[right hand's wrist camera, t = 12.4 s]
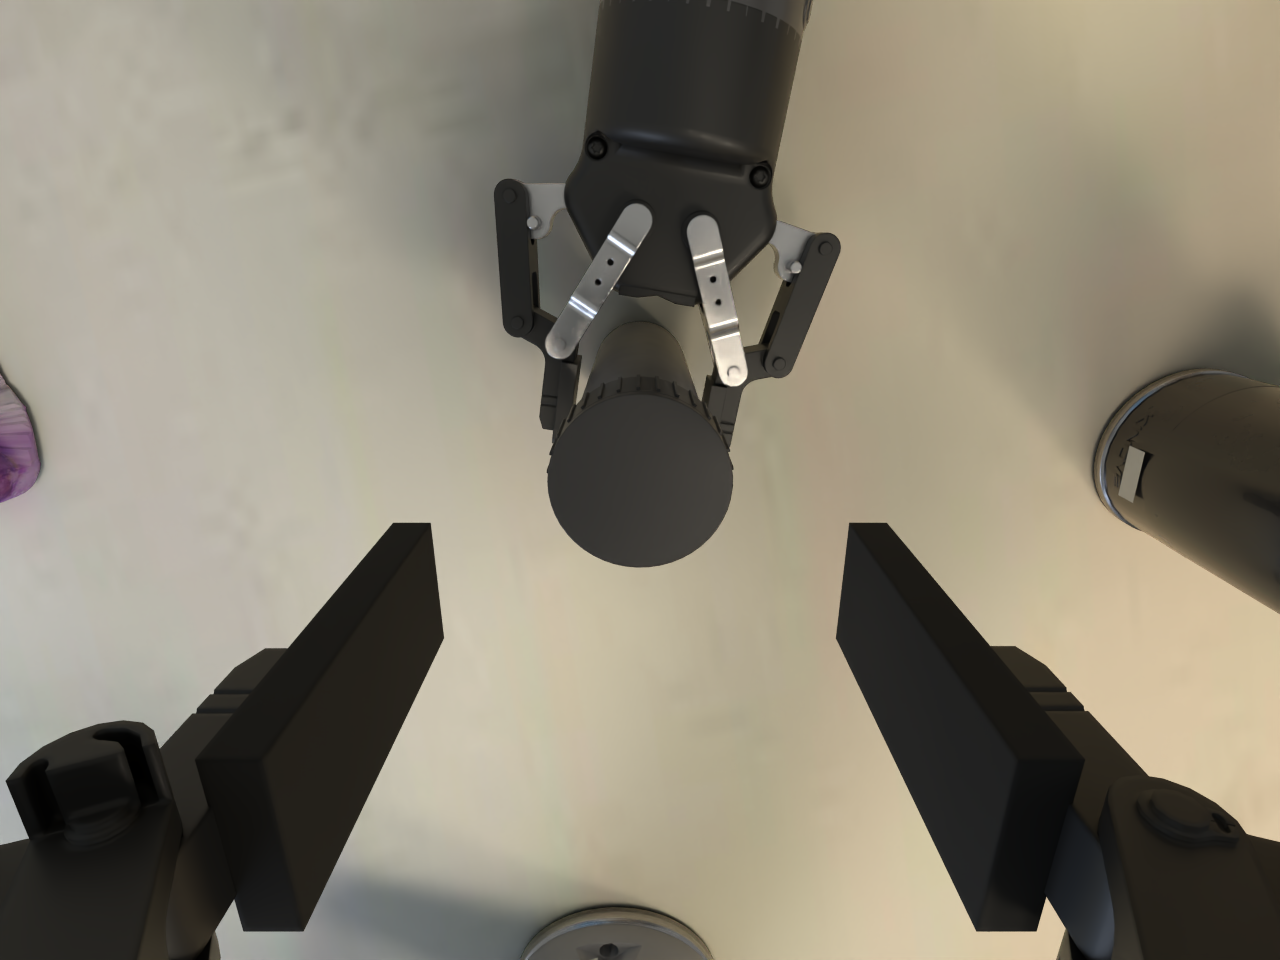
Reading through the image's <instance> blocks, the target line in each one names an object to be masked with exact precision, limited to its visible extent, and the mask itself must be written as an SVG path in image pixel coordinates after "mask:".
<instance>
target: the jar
mask: <svg viewBox="0 0 1280 960" xmlns="http://www.w3.org/2000/svg"><path fill="white" fill-rule="evenodd" d="M639 374H640V377H653V378H655V376H659V379H663V380H666V381H669V382H672V383H673V381H675V382H677V385H679V386H680V387H682V388H684V389H686V390H687V391H689V390H691V391H693V394H694V396H696V397H697V398H698V396H697V393H696V390H695V387H694V384H693V381H692V378H691V375H690V372H689V370H688V367H687V364H686V361H685V358H684V355H683V352H682V350H681V347H680V345H679V343H678V342H677V340H676V339H675V338H674V336H673V335H672V334H671V333H669V332H668V331H667V330H666V329H664V328H662V327H661V326H659V325H656V324H654V323H649V322H642V321H640V322H631V323H627V324H624V325H622V326H620V327H618V328H616V329H615V330H613V331H612V332H611V333H610V334H609V335H608V336H607V337H606V338H605V339H604V341H603V342H602V344H601V346H600V348H599V350H598V353H597V356H596V359H595V362H594V365H593V368H592V371H591V374H590V376H589V379H588V382H587V385H586V388H585V391H584V394H583V397H582V399H583V398H584V395H585V393H586V392H589V393H590V392H591V391H593V390H595V389H596V388H598V387H600V384H601V383H603V382H604V384H606V383H608V382H611V381H614V380H618V377H622V378H628V377H637V375H639Z"/></svg>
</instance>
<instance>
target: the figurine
mask: <svg viewBox="0 0 1280 960" xmlns="http://www.w3.org/2000/svg"><path fill="white" fill-rule="evenodd" d="M40 466H41V463H40V460H39V457H38V452H37V446H36V441H35V437H34V432H33V428H32V425H31V422H30V419H29V417H28V414H27V412H26V407H25V406H24V405H23V404H22V403H21V401H20V400H19V398H18V397H17V396H16V394H15V393H14V392H13V391H12V390H11V388H10V387H9V386H8V385H7V384H6V383H5V380H4V379H3V377H2V376H1V375H0V503H1V502H4V501H6V500H9V499H11V498H14V497H16V496H18V495H20V494H23V493H25V492H26V491H27V490H28V489H30V488H31V487H32V486H33V484H34V483H35V481H36V479H37V476H38V474H39V472H40Z"/></svg>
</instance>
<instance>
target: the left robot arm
mask: <svg viewBox="0 0 1280 960" xmlns="http://www.w3.org/2000/svg"><path fill="white" fill-rule="evenodd" d="M812 3H813V0H600V6H599V14H598V22H597V30H596V39H595V48H594V56H593V65H592V73H591V82H590V90H589V99H588V107H587V115H586V124H585V132H584V141H583V148H582V152H581V156H580V159H579V161H578V163H577V165H576V167H575V169H574V170H573V172H572V173H571V174H570V176H569V177H568V179H567V181H566V183H523V182H521V181H518V180H515V179H504V180H502V181H500V182H499V183H498V184H497V186H496V188H495V191H494V201H495V216H496V230H497V244H498V259H499V273H500V287H501V301H502V316H503V325H504V328H505V330H506V331H507V333H509V334H510V335H511V336H514V337H522V338H523V339H525V340H527V341H529V342H531V343H533V344H534V345H536V346H538V347H539V348H540V349H541V351H542V352H543V354H544V357H545V371H544V380H543V389H542V398H541V407H540V416H539V417H540V421H541V424H542V428H543V429H548V430H553V437H552V443H554V441H555V438H556V435H557V433H558V431H559V428H560V426H561V423H562V421H563V419H567V417H568V415H569V413H570V410H571V408H572V406H573V404H575V405H576V398H577V390H578V382H579V375H580V367H581V359H582V355H577V354H578V346H579V341H580V339H581V338H582V336H583V335H584V333H585V331H586V330H587V328H588V327H589V325H590V323H591V322H592V320H593V319H594V317H595V316H596V314H597V313H598V311H599V309H600V308H601V306H602V305H603V303H604V301H605V300H606V298H607V297H608V295H609V294H610V292H611V290H612V289H613V290H615V291H617V292H619V295H625V296H631V297H647V296H660V297H662V298H664V299H666V300H668V301H671V302H673V303H675V304H680V305H686V306H692V307H694V305H696V304H698V305H699V309H700V313H701V317H702V321H703V325H704V328H705V331H706V335H707V340H708V344H709V348H710V352H711V356H712V360H713V365H714V368H713V373H712V376H711V375H707V377H706V382H705V387H704V392H703V397H702V403H703V402H705V403H706V405H707V407H708V410H709V412H710V413H711V415H712V416H716V418H717V421H718V423H719V425H720V428H721V430H722V432H723V434H724V437H725V439H726V441H727V444H728V446H729V447H730V444H731V439H732V435H733V430H734V425H735V421H736V416H737V412H738V407H739V402H740V398H741V393H742V391H743V389H744V387H745V386H746V385H747V384H748V383H750V382H751V381H754V380H757V379H763V378H768V377H774V378H782V377H785V376H787V375H788V374H789V373H790V372H791V370H792V368H793V366H794V363H795V361H796V359H797V356H798V354H799V351H800V349H801V346H802V344H803V341H804V339H805V337H806V334H807V332H808V329H809V327H810V324H811V322H812V319H813V317H814V315H815V312H816V310H817V307H818V305H819V302H820V300H821V298H822V295H823V293H824V290H825V288H826V285H827V283H828V280H829V278H830V276H831V273H832V271H833V268H834V266H835V263H836V261H837V258H838V256H839V253H840V249H841V246H840V241H839V239H838V238H837V237H836V236H835V235H833V234H831V233H815V232H809V231H806V230H804V229H801V228H798V227H795V226H793V225H790V224H787V223H784V222H782V221H779V220H777V215H776V211H775V207H774V204H773V198H772V181H773V176H774V171H775V166H776V161H777V156H778V151H779V147H780V142H781V137H782V132H783V127H784V123H785V118H786V113H787V108H788V103H789V99H790V94H791V89H792V84H793V79H794V75H795V70H796V65H797V60H798V56H799V51H800V46H801V42H802V37H803V32H804V30H805V28H806V25H807V23H808V22H809V18H810V14H811V9H812ZM563 209H567V211H568V213H569V215H570V217H571V219H572V221H573V223H574V225H575V227H576V229H577V231H578V233H579V235H580V237H581V239H582V241H583V243H584V245H585V247H586V249H587V251H588V253H589V255H590V256H591V258H592V260H593V261H592V263H591V265H590V266H589V268H588V270H587V271H586V273H585V274H584V276H583V278H582V279H581V281H580V283H579V284H578V286H577V288H576V289H575V291H574V292H573V294H572V296H571V298H570V299H569V301H568V303H567V305H566V306H565V308H564V310H563V311H562V313H561V315H560V316H559V318H556V317H554V316H552V315H551V314H549V313H547V312H545V311H543V310H542V309H540V294H539V274H538V254H537V239H541V238H544V237H546V236H548V235H549V234H550V232H551V230H552V227H553V220H554V217H555V216H556V214H557V213H558V212H559V211H561V210H563ZM767 244H769V245H770V246H771V247H772V248H773V250H774V253H775V261H774V272H775V274H776V275H777V276H778V277H779V278H780V279H782V280H783V282H782V285H781V287H780V290H779V293H778V295H777V298H776V300H775V303H774V305H773V308H772V311H771V313H770V316H769V318H768V321H767V323H766V326H765V329H764V331H763V334H762V336H761V339H760V342H759V344H758V345H753V346H748V347H743V345H742V341H741V337H740V332H739V322H738V317H737V313H736V308H735V304H734V299H733V295H732V290H731V286H730V281H731V280H732V279H733V278H734V277H735V276H736V275H737V274H738V273H739V272H740V271H741V270H742V269H743V268H744V267H745V266H746V265H747V264H748V263H749V262H750V261H751V260H752V259H753V258H754V257H755V256H756V255H757V254H758V253H759V252H760V251H761V250H762V249H763V248H764V247H765V246H766V245H767ZM1094 479H1095V484H1096V488H1097V492H1098V494H1099V496H1100V499H1101V500H1102V502H1103V504H1104V505H1105V506H1106V508H1107V509H1108V510H1109V511H1110V512H1111V513H1112V514H1113V515H1114V516H1115V517H1117V518H1118V519H1120V520H1121V521H1123V522H1125V523H1126V524H1128V525H1130V526H1131V527H1133V528H1135V529H1138V530H1140V531H1143V532H1145V533H1146V534H1148V535H1150V536H1151V537H1153V538H1155V539H1156V540H1158V541H1160V542H1161V543H1163V544H1165V545H1166V546H1168V547H1169V548H1171V549H1172V550H1174V551H1176V552H1177V553H1179V554H1181V555H1182V556H1184V557H1186V558H1187V559H1189V560H1191V561H1192V562H1194V563H1196V564H1197V565H1199V566H1201V567H1202V568H1204V569H1206V570H1207V571H1209V572H1211V573H1212V574H1214V575H1216V576H1217V577H1219V578H1221V579H1222V580H1224V581H1226V582H1227V583H1229V584H1231V585H1232V586H1234V587H1236V588H1237V589H1239V590H1241V591H1242V592H1244V593H1246V594H1247V595H1249V596H1251V597H1252V598H1254V599H1256V600H1257V601H1259V602H1261V603H1262V604H1264V605H1266V606H1267V607H1269V608H1271V609H1272V610H1274V611H1275V612H1277V613H1279V614H1280V386H1276V385H1272V384H1268V383H1264V382H1260V381H1256V380H1252V379H1249V378H1247V377H1245V376H1242V375H1239V374H1236V373H1232V372H1228V371H1223V370H1219V369H1203V368H1202V369H1192V370H1186V371H1182V372H1178V373H1174V374H1172V375H1169V376H1166V377H1164V378H1162V379H1160V380H1157V381H1156V382H1154V383H1152V384H1150V385H1148V386H1147V387H1145V388H1144V389H1142V390H1141V391H1139V392H1138V393H1137V394H1136V395H1134V396H1133V397H1132V398H1131V399H1130V400H1129V401H1127V402H1126V403H1125V404H1124V405H1123V407H1122V408H1121V409H1120V410H1119V411H1118V412H1117V413H1116V415H1115V416H1114V417H1113V419H1112V420H1111V421H1110V423H1109V424H1108V426H1107V428H1106V430H1105V431H1104V433H1103V436H1102V438H1101V440H1100V443H1099V445H1098V448H1097V452H1096V456H1095V463H1094Z"/></svg>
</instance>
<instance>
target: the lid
mask: <svg viewBox="0 0 1280 960" xmlns="http://www.w3.org/2000/svg"><path fill="white" fill-rule="evenodd" d="M728 452H730V449H729V446H728V444H727V441H726V439H725V437H724V434H723V432H722V430H721V428H720V425H719V423H718V421H717V418H716V416H712V415H711V413H710V412H709V410H708V407H707V405H706V403H705V402H703V403H702V402H701V401H700V400H699V399H698V398H697V397H696V396H694V394H693V391H691V390H689V391H687V390H686V389H684V388H682V387H680V386H679V385H677V382H675V381H673V383H672V382H669V381H666V380H663V379H659V376H655V378H653V377H640V374H639V375H637V377H628V378H622V377H618V380H614V381H611V382H608V383H606V384H604V382H603V383H601V384H600V387H598V388H596V389H595V390H593V391H591V392H590V393H589V392H586V393H585V395H584V398H583V399H581V400H580V402H579V403H578V404H577V405H575V404H573V406H572V408H571V410H570V413H569V415H568V417H567V419H563V421H562V423H561V426H560V428H559V431H558V433H557V435H556V438H555V441H554V443H553V446H552V448H551V451H550V454H549V455H552V456H551V459H550V463H549V466H548V469H547V473H548V481H547V482H548V493H549V498H550V502H551V506H552V508H553V511H554V513H555V516H556V518H557V519H558V521H559V523H560V525H561V526H562V528H563V529H564V530H565V532H566V533H567V534H568V535H569V536H570V538H571V539H572V540H573V541H574V542H575V543H577V544H578V545H579V546H580V547H581V548H583V549H584V550H585V551H587V552H589V553H590V554H592V555H593V556H595V557H598V558H600V559H602V560H604V561H607V562H610V563H613V564H617V565H621V566H627V567H653V566H660V565H664V564H667V563H671V562H674V561H676V560H679V559H681V558H683V557H685V556H687V555H689V554H690V553H692V552H694V551H695V550H696V549H698V548H699V547H700V546H702V545H703V544H704V543H705V542H706V541H707V540H708V539H709V538H710V537H711V536H712V535H713V533H714V532H715V531H716V530H717V528H718V527H719V525H720V524H721V522H722V520H723V519H724V516H725V514H726V512H727V510H728V507H729V503H730V500H731V495H732V489H733V473H732V470H733V465H732V462H731V460H730V457H729V454H728Z"/></svg>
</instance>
